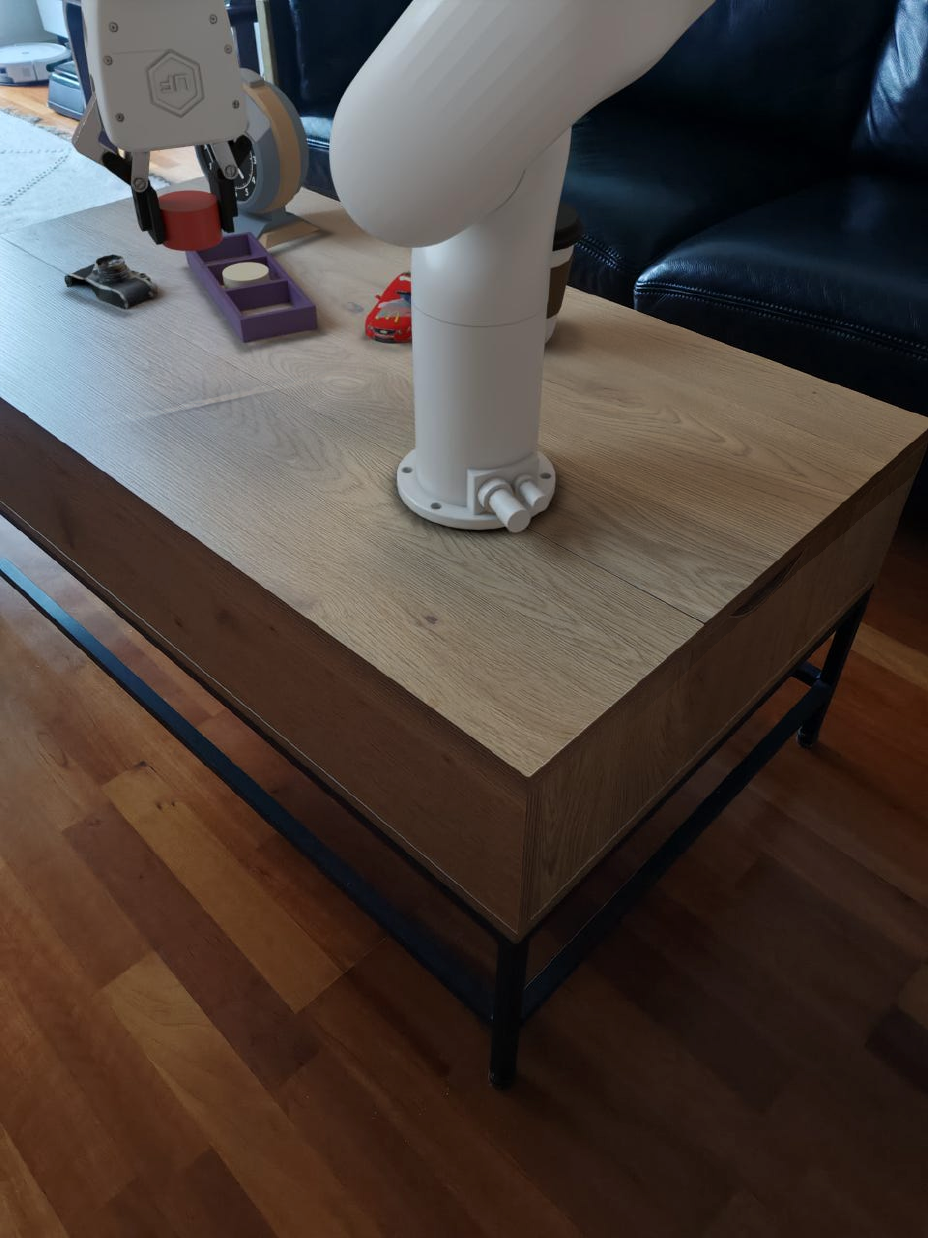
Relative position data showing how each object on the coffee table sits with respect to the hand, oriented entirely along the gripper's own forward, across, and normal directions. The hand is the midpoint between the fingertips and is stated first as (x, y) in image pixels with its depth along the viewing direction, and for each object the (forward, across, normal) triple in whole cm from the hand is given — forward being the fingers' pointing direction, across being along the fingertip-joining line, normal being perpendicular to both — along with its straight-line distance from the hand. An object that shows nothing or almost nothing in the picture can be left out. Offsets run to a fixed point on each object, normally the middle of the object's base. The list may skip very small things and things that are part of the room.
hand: (190, 230), depth 76 cm
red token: (+1, 0, 0) cm, 1 cm away
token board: (+16, +10, +21) cm, 28 cm away
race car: (+16, +22, +8) cm, 28 cm away
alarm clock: (+16, +17, +38) cm, 45 cm away
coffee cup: (+16, +31, 0) cm, 35 cm away
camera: (+16, -3, +28) cm, 32 cm away
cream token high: (+14, +10, +21) cm, 27 cm away
